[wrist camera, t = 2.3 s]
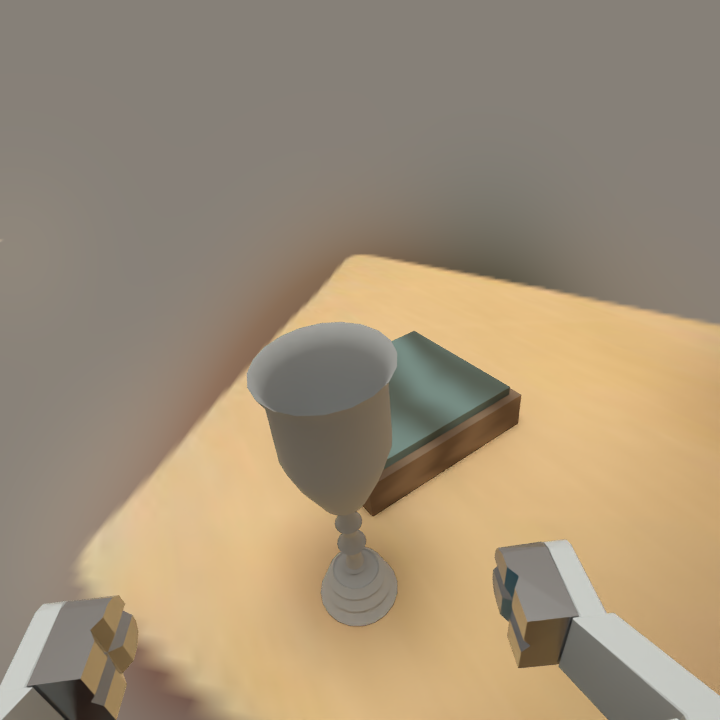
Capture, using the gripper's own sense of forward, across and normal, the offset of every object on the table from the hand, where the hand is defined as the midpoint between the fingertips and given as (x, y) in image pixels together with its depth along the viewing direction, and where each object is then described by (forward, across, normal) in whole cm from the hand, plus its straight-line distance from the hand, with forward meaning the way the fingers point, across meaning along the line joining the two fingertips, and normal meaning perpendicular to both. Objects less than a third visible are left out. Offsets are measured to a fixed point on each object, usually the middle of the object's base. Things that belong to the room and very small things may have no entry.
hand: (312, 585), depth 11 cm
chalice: (+12, 0, +21) cm, 24 cm away
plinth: (+28, -5, +20) cm, 35 cm away
